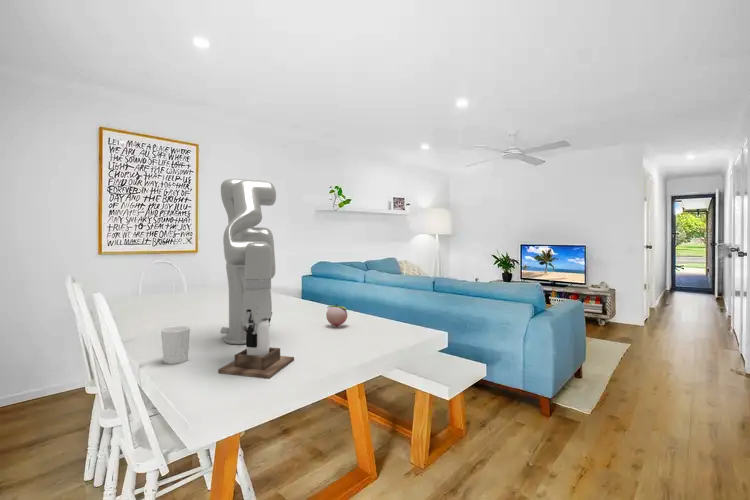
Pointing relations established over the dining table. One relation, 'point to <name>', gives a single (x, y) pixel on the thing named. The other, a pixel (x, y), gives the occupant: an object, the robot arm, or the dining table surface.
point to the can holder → (257, 364)
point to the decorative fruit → (336, 315)
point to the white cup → (175, 344)
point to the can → (260, 339)
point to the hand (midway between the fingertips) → (257, 343)
